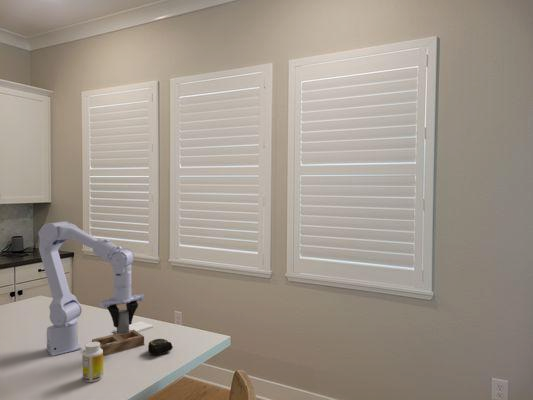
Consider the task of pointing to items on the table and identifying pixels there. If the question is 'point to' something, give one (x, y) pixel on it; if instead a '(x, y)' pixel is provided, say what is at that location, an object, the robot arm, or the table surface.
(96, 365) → the supplement bottle
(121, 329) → the plug
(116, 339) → the box
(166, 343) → the tape measure
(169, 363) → the table surface
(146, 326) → the external hard drive
